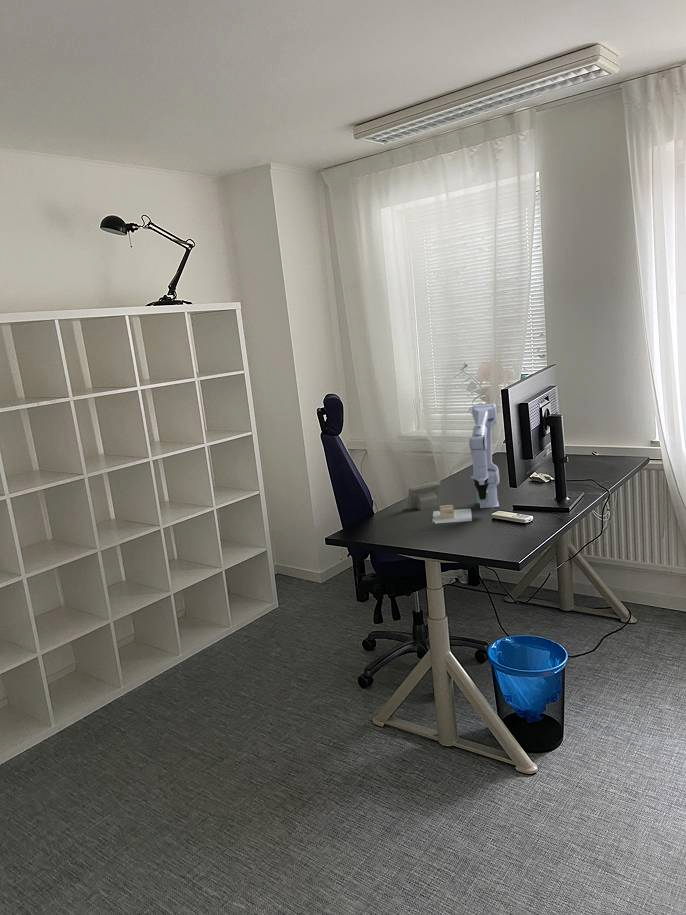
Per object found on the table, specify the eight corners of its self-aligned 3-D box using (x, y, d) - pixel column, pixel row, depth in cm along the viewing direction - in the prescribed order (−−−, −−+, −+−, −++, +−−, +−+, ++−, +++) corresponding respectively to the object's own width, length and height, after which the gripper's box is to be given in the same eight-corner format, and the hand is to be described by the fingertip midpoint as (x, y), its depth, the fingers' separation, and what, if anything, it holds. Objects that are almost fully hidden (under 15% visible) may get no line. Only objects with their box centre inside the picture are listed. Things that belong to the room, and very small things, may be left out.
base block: (440, 514, 300) (439, 505, 299) (453, 513, 299) (453, 504, 298) (440, 518, 295) (439, 509, 294) (453, 517, 294) (453, 508, 293)
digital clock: (438, 502, 322) (436, 479, 320) (446, 506, 313) (443, 483, 311) (404, 508, 319) (402, 485, 317) (411, 512, 310) (408, 489, 308)
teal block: (477, 500, 293) (476, 490, 292) (488, 499, 292) (487, 489, 291) (477, 503, 289) (476, 493, 288) (488, 502, 288) (487, 492, 287)
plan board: (433, 512, 307) (433, 511, 307) (470, 509, 304) (470, 508, 304) (432, 524, 289) (432, 523, 289) (472, 521, 287) (472, 520, 286)
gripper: (469, 462, 295) (472, 493, 298) (470, 470, 281) (473, 503, 284) (486, 461, 294) (489, 492, 297) (488, 468, 280) (491, 501, 283)
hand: (482, 497), depth 290 cm, fingers closed on teal block, 4 cm apart
